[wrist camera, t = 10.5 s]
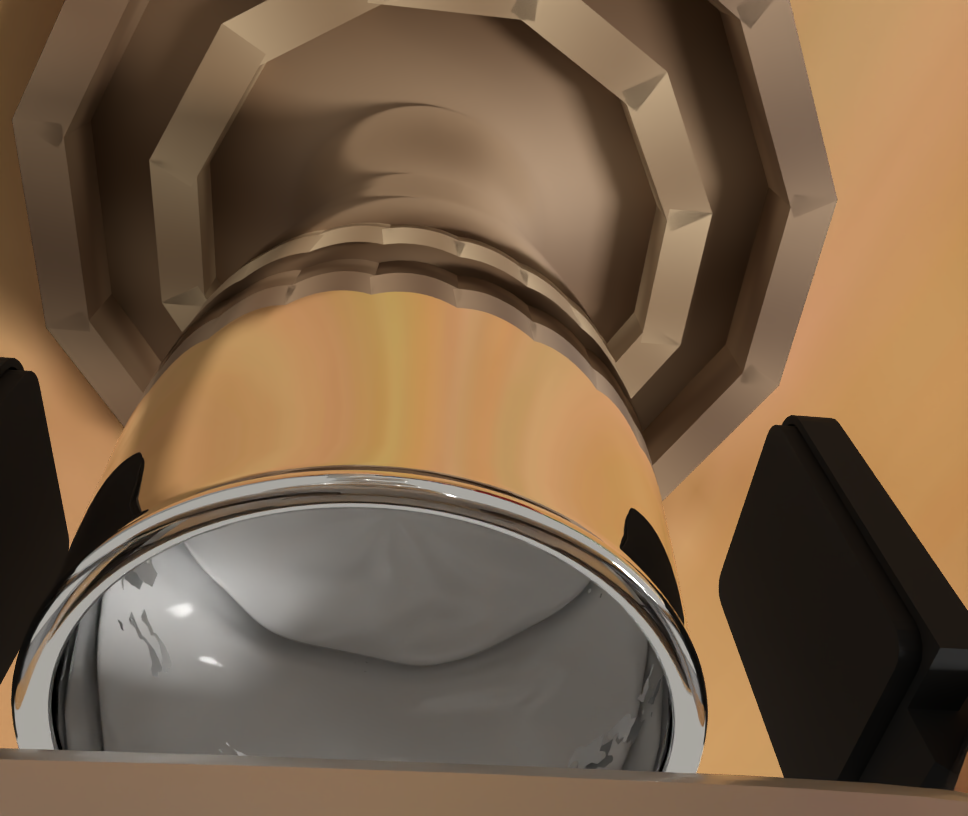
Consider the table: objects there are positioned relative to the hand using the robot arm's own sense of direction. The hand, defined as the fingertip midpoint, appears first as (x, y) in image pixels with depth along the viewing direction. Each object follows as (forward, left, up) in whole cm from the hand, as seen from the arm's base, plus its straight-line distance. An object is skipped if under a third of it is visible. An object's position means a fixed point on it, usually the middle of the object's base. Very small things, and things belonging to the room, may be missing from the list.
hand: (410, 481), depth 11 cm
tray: (+1, 0, -12) cm, 12 cm away
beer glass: (+1, 0, -11) cm, 11 cm away
